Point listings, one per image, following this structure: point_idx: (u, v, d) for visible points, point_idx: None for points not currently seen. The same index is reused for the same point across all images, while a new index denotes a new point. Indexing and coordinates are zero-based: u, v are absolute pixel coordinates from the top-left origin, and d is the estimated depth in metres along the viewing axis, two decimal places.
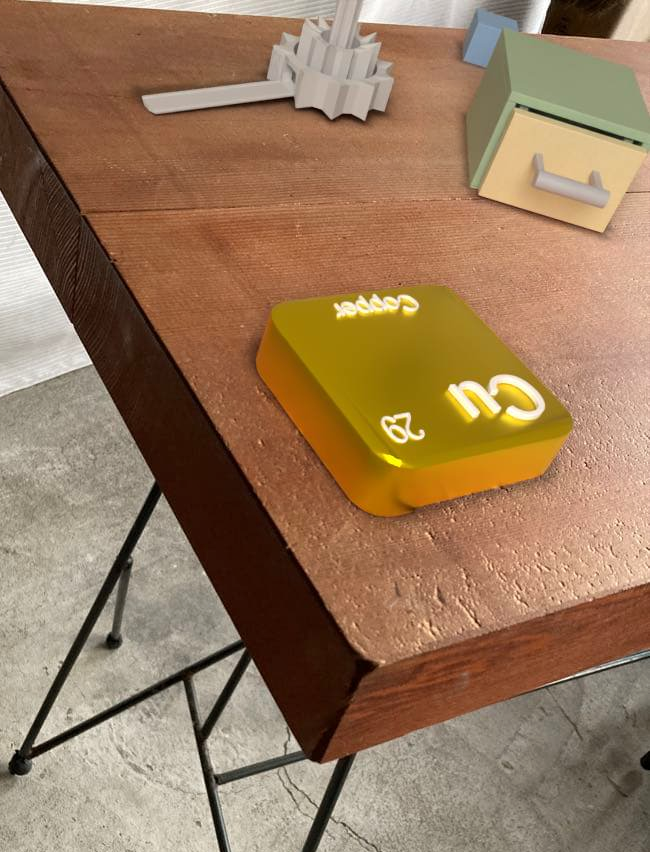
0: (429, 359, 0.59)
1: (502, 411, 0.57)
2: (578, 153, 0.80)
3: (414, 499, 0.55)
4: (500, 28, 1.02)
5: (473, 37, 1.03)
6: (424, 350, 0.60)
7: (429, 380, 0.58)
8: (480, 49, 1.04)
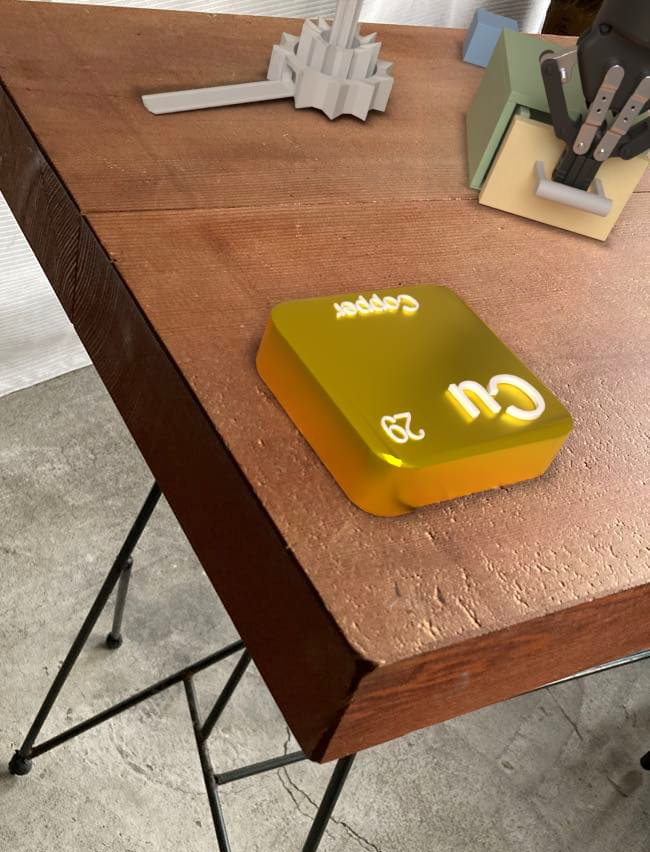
0: (429, 359, 0.59)
1: (502, 411, 0.57)
2: None
3: (414, 499, 0.55)
4: (500, 28, 1.02)
5: (473, 37, 1.03)
6: (424, 350, 0.60)
7: (429, 380, 0.58)
8: (480, 49, 1.04)
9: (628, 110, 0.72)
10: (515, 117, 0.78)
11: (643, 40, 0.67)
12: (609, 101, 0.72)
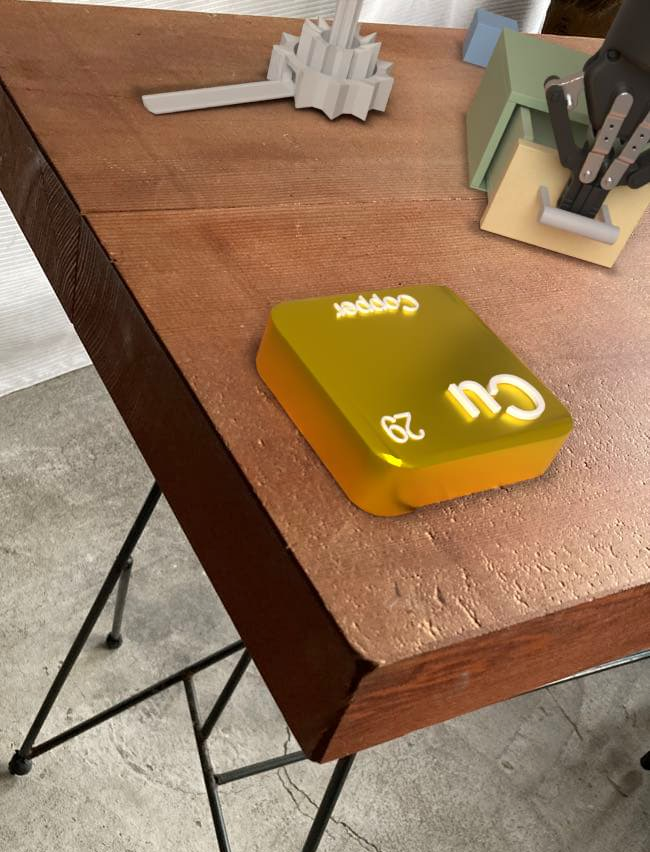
0: (429, 359, 0.59)
1: (502, 411, 0.57)
2: None
3: (414, 499, 0.55)
4: (500, 28, 1.02)
5: (473, 37, 1.03)
6: (424, 350, 0.60)
7: (429, 380, 0.58)
8: (480, 49, 1.04)
9: (637, 138, 0.69)
10: (518, 141, 0.75)
11: None
12: (617, 129, 0.69)
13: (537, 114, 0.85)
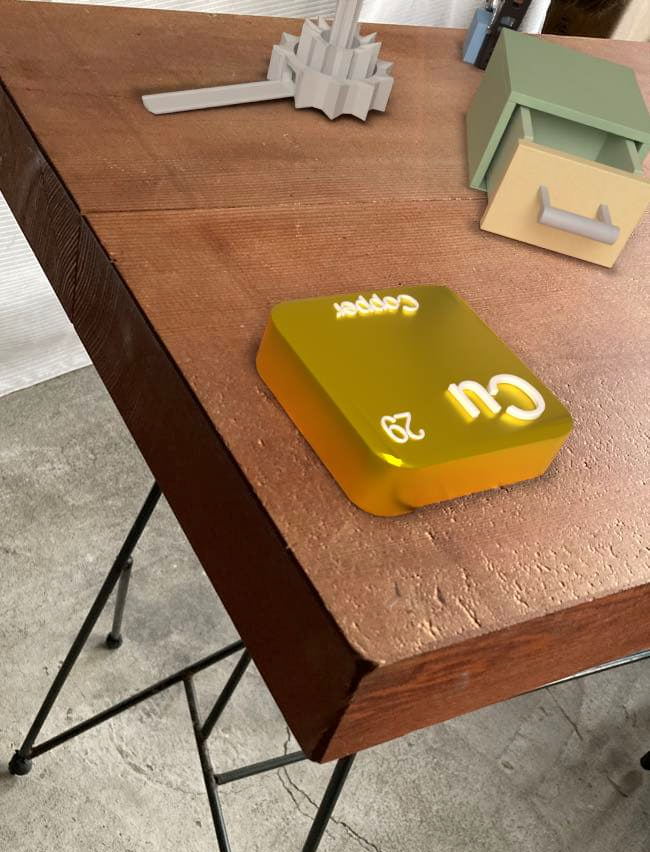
0: (429, 359, 0.59)
1: (502, 411, 0.57)
2: (586, 186, 0.76)
3: (414, 499, 0.55)
4: None
5: (473, 37, 1.03)
6: (424, 350, 0.60)
7: (429, 380, 0.58)
8: None
9: None
10: (518, 141, 0.75)
11: None
12: None
13: (537, 114, 0.85)
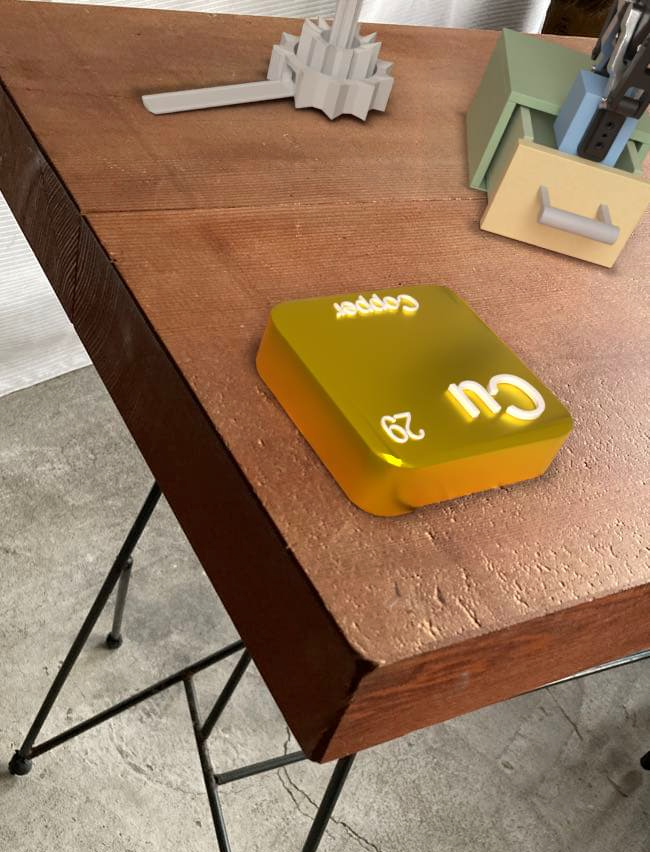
0: (429, 359, 0.59)
1: (501, 411, 0.57)
2: (586, 186, 0.76)
3: (414, 499, 0.55)
4: None
5: (578, 112, 0.74)
6: (424, 350, 0.60)
7: (429, 380, 0.58)
8: None
9: None
10: (518, 141, 0.75)
11: None
12: None
13: (537, 114, 0.85)
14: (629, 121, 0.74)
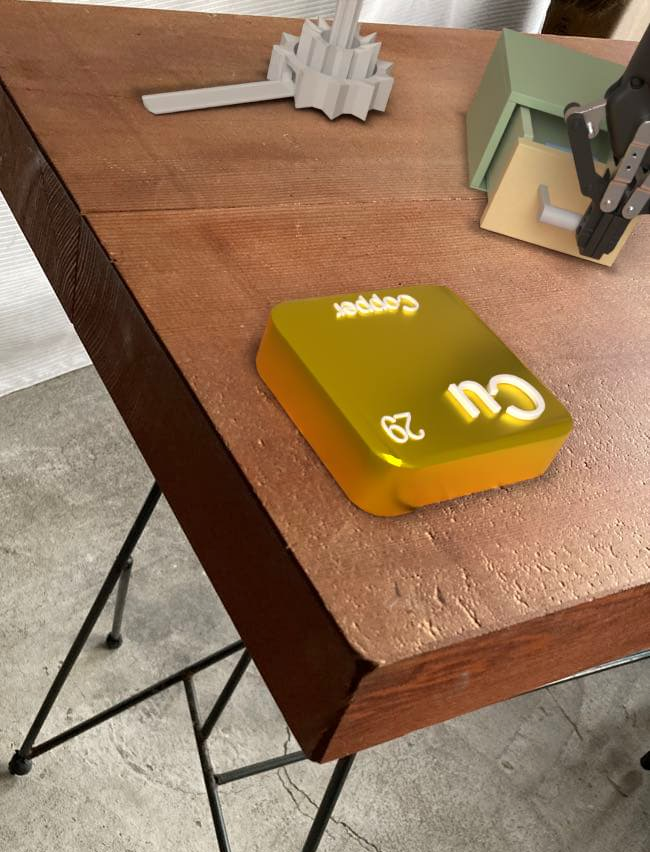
0: (429, 359, 0.59)
1: (501, 411, 0.57)
2: None
3: (414, 499, 0.55)
4: None
5: None
6: (424, 350, 0.60)
7: (429, 380, 0.58)
8: None
9: None
10: (518, 140, 0.75)
11: None
12: (640, 158, 0.67)
13: (537, 113, 0.85)
14: None
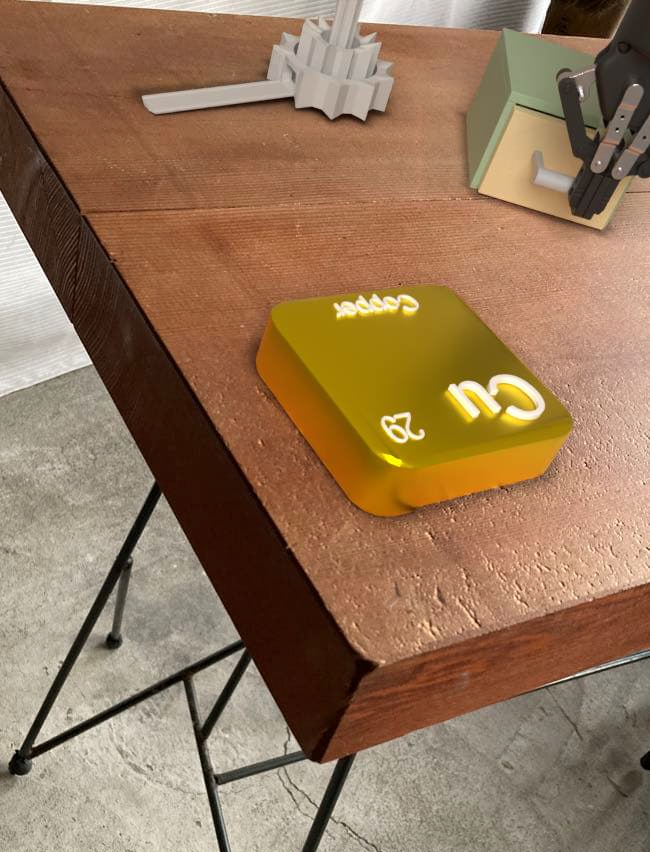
0: (429, 359, 0.59)
1: (501, 411, 0.57)
2: None
3: (414, 499, 0.55)
4: None
5: None
6: (424, 350, 0.60)
7: (429, 380, 0.58)
8: None
9: (647, 129, 0.71)
10: (514, 107, 0.79)
11: None
12: (628, 120, 0.71)
13: None
14: None
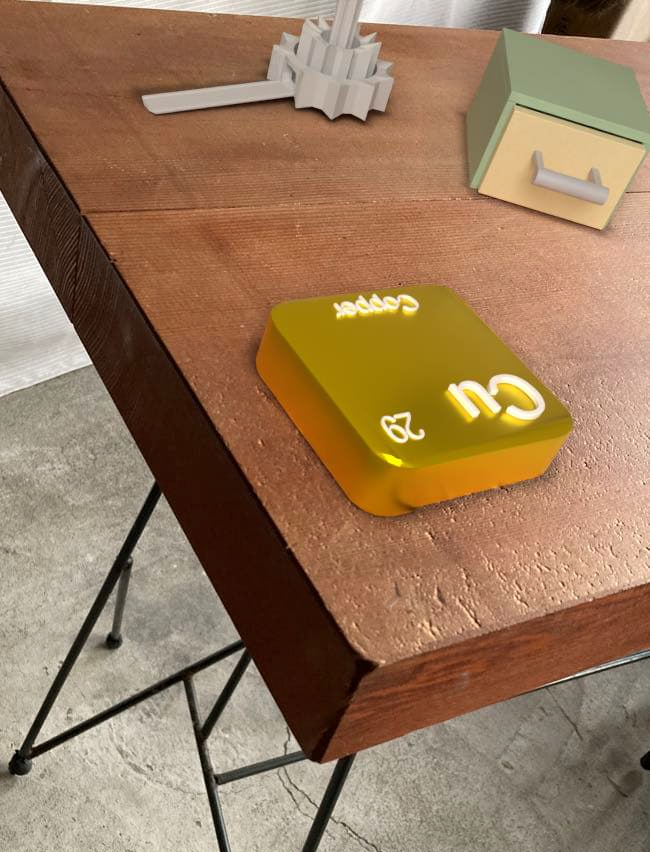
0: (429, 359, 0.59)
1: (501, 411, 0.57)
2: (577, 150, 0.80)
3: (414, 499, 0.55)
4: None
5: None
6: (424, 350, 0.60)
7: (429, 380, 0.58)
8: None
9: None
10: (514, 107, 0.79)
11: None
12: None
13: None
14: None
